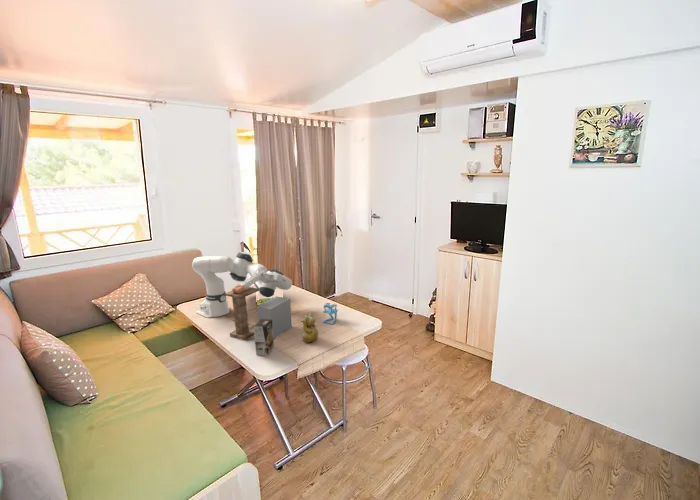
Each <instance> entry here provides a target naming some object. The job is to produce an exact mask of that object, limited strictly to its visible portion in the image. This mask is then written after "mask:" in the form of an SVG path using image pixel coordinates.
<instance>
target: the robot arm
mask: <svg viewBox="0 0 700 500" xmlns="http://www.w3.org/2000/svg"><path fill="white" fill-rule="evenodd" d="M253 261H254V259H253V258H252V255H251V254H250V253H248V252H245V251H242V252H238V253H237V254H236V257H235V260H234V259H233V258H231V257H230V256H225V255H210V256H209V255H207V256H205V255H204V256H197V257H195V258H193V260H192V262H191V267H192V269H193V271H194V272H195V273H197V274H198V275H199V276H200V277H201V278H202V280H203V281H204V284H205V289H206V293H204V297H205V299H204V300H203V301H202V302H200V304H199V309H198V310H196V312H195V313H196V314H198V315H200V316H202V317H205V318H207V319H210V318H217V317H221V316H225V315H227V314H229V313H230V311H231V310H230V309H231V307H230V306H229V302H228V298H227V296H225V293H227V292H226V289H225V281H224V280H223V278H222V277H219V276H218V275H216V274H223V273H228V274H229V275H230V277H231V279H232V280H234V281H235V282H239V283H242V282H244V281H245V280H247V279H248V277H247V276H248V275H250V277H252V276H253V275H255V274H256V273H258V272H259V271H261V270H264V271H266V273H262V276H264V277H263V278H261V279H260V280H258V281H257V282H255V283H254V284H253V285H254V287H255V288H258V289H259V291H258V292H259V295H261V296H263V297H264V298H265V297H266V298H272V297H273V296H274V294H275V292H276V289H279V290H283V291H287V290H290V289H291V288H292V286H293V281H292V278H289V277H288V276H286V275H284V273H283V272H282V271H279V270H277V269H274V268H271V269H267V267H266V266H264V265H263V264H260V263H257V262H256V263H255V262H253Z"/></svg>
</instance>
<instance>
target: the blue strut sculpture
mask: <svg viewBox="0 0 700 500" xmlns="http://www.w3.org/2000/svg"><path fill="white" fill-rule="evenodd" d="M337 304H338V303H337ZM337 304H331V303H330V302H326V303H324V305H323V308H324V310H323V311H322V312H323V314H328V315H329V318H327V319H323V320H322V321H321V322H322V323H323V324H326V325H331V326H332V325H334V324H335V322H336V321H337V320H338V319H337V315H338V310H339V309H337V306H338V305H337ZM333 315H334V316H333ZM331 320H333V321H332V322H329V321H331Z"/></svg>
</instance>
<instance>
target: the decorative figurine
mask: <svg viewBox="0 0 700 500" xmlns="http://www.w3.org/2000/svg"><path fill="white" fill-rule="evenodd" d="M300 322H301V323H303V325H302V326H303V327H302V329H303V333H302V335H301V341H303V342H306V343H308V344H311V343H313V342H315V341H317V339H318V337H319V331H318V328H317V326H316V318H315V317H314V315H313V314H312V313H311V312H309V313H308V315H304V318H303V319H301V321H300Z"/></svg>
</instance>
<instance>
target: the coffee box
mask: <svg viewBox="0 0 700 500" xmlns="http://www.w3.org/2000/svg"><path fill="white" fill-rule="evenodd" d="M253 325H254V334H255V335H254V343H255V355H257V356H269V354H270V353H271V352H272V351H273V349H274V348H275V340H274V339H275V338H273V326H272V319H261V320H260V321H259V322H256V323H255V324H253Z"/></svg>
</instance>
